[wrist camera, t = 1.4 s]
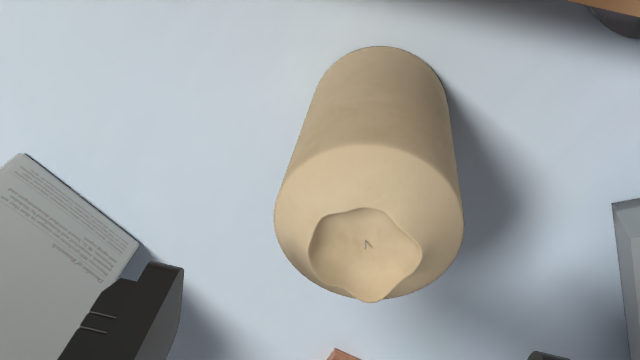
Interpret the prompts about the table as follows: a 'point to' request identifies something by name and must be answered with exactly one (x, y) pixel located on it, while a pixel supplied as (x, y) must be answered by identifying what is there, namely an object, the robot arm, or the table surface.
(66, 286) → the supplement box
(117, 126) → the table surface
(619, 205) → the tray
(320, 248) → the candle
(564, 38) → the table surface
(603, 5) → the crank lever
